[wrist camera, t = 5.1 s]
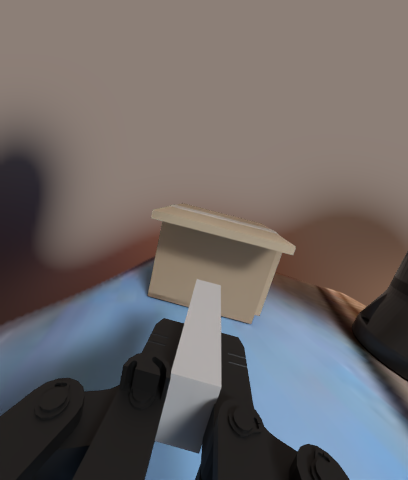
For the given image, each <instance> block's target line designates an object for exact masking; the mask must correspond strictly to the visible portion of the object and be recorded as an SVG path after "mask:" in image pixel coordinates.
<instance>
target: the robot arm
mask: <svg viewBox="0 0 408 480" xmlns="http://www.w3.org/2000/svg"><path fill="white" fill-rule="evenodd" d="M352 330H353V333H354V335H355V336H356V338H357V339H358V340H359V341H360V342H361V344H362V345H363V346H364V347H365V348H366V349H367V350H369V351H370V352H371V353H372V354H373V355H374V356H375V357H377V358H378V359H379V360H380V361H382V362H383V363H384V364H385V365H387V366H388V367H389V368H391V369H392V370H394V371H395V372H397V373H398V374H399V375H401V376H402V377H404V378H405V379H407V380H408V251H407V253H406V255H405V257H404V259H403V261H402V263H401V265H400V267H399V268H398V270H397V272H396V274H395V276H394V278H393V280H392V282H391V284H390V286H389V287H388V289H387V290H386V291H385V292H384V293H383V294H381V295H380V296H379V297H378V298H377V299H376V300H374V301H373V302H372V303H371V304H370V305H368V306H367V307H366V308H365V309H364V310H362V311H361V312H360V313H359V314H358V315H357V317H356V319H355V321H354V323H353V325H352ZM245 358H246V356H245V350H244V346H243V345H242V343H241V341H240V339H239V338H238V337H235V336H231V335H227V334H224V333H221V285H217V284H214V283H210V282H206V281H202V280H199V279H197V280H196V284H195V287H194V291H193V295H192V298H191V302H190V305H189V309H188V313H187V316H186V320H185V323H180V322H176V321H173V320H169V319H165V318H163V319H162V320H161V321H159V322H158V323H157V324H156V325H155V327H154V329H153V331H152V334H151V335H150V337H149V339H148V342H147V343H146V345H145V347H144V349H143V351H142V353H139V354H136V355H135V356H133V357H131V358H129V359H128V361H127V362H126V363H125V364H124V365H123V370H122V376H121V381H120V385H118V386H116V387H114V388H111V389H107V390H100V391H85V392H84V389H83V386H82V385H81V384H80V383H79V382H78V381H77V380H74V379H71V378H59V379H55V380H52V381H49V382H46V383H45V384H43V385H42V386H40V387H38V388H37V389H35V390H34V391H32V392H31V393H30V394H28V395H27V396H26V397H25V398H23V399H22V400H21V401H20V402H18V403H17V404H16V405H14V406H13V407H12V408H11V409H9V410H8V411H7V412H5V413H4V414H3V415H2V416H0V480H145V476H146V472H147V468H148V464H149V461H150V457H151V453H152V449H153V445H154V442H155V441H157V442H160V443H164V444H167V445H171V446H174V447H178V448H181V449H185V450H188V451H192V452H195V453H199V452H200V449H201V446H202V455H201V464H200V467H199V470H198V473H197V476H196V479H195V480H349V478H348V476H347V475H346V474H345V472H344V471H343V469H342V468H341V467H340V465H339V464H338V463H337V462H336V461H335V460H334V459H333V458H332V457H331V456H330V455H329V454H328V453H327V452H325V451H324V450H322V449H321V448H319V447H318V446H315V445H310V444H306V445H303V446H301V447H300V449H299V451H298V452H297V451H296V450H294V449H293V448H291V447H289V446H288V445H286V444H285V443H283V442H282V441H280V440H279V439H277V438H276V437H275V436H273V435H272V434H271V433H270V432H269V431H268V430H267V429H266V428H265V427H264V425H263V422H262V419H261V418H260V416H259V415H258V413H257V412H256V410H255V409H254V406H253V401H252V395H251V388H250V382H249V376H248V369H247V363H246V359H245Z"/></svg>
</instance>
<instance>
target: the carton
mask: <svg viewBox="0 0 408 480" xmlns="http://www.w3.org/2000/svg"><path fill="white" fill-rule="evenodd" d="M281 254H282V252H279V251H275V250H272V249H268V248H264V247H260V246H256V245H252V244H249V243H245V242H241V241H237V240H233V239H229V238H226V237H222V236H218V235H214V234H210V233H206V232H203V231H199V230H195V229H191V228H187V227H183V226H180V225H176V224H172V223H168V222H164V221H162V226H161V231H160V236H159V241H158V246H157V252H156V256H155V261H154V266H153V271H152V276H151V281H150V286H149V291H148V296H150V297H153V298H157V299H161V300H164V301H168V302H172V303H175V304H179V305H183V306H186V307H189V305H190V302H191V298H192V295H193V291H194V287H195V284H196V280H197V279H199V280H202V281H206V282H210V283H214V284H217V285H221V316H223V317H227V318H231V319H234V320H238V321H242V322H245V323H249V324H251V323H252V320H253V318H254V315H258V316H260V313H261V310H262V308H263V305H264V302H265V299H266V296H267V294H268V291H269V288H270V285H271V282H272V280H273V277H274V274H275V271H276V268H277V266H278V263H279V260H280V257H281Z"/></svg>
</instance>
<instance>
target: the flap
mask: <svg viewBox="0 0 408 480" xmlns="http://www.w3.org/2000/svg"><path fill="white" fill-rule="evenodd" d="M151 218H153V219H157V220H161V221H164V222H168V223H172V224H176V225H180V226H183V227H187V228H191V229H195V230H199V231H203V232H206V233H210V234H214V235H218V236H222V237H226V238H229V239H233V240H237V241H241V242H245V243H249V244H252V245H256V246H260V247H264V248H268V249H272V250H275V251H279V252H283V253H287V254H291V255H293V254H294V251H295V248H296V247H295V246H294V245H292V244H291V243H290V242H288V241H286V240H285V239H284V238H282V237H281V236H279V235H278V234H277V233H276V232H275V231H273V230H271V229H269V228H268V227H266V226H265V225H263V224H261V223H257V222H253V221H249V220H245V219H242V218H237V217H234V216H230V215H226V214H222V213H218V212H214V211H210V210H207V209H203V208H199V207H195V206H191V205H187V204H183V203H182V204H178V205H170V206H168V207H164V208H159V209H154V210H153V212H152V217H151Z"/></svg>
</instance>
